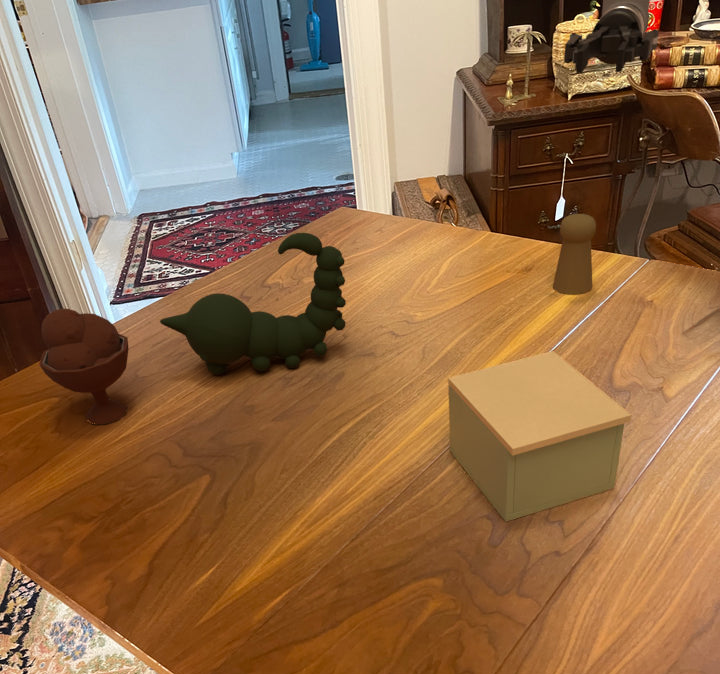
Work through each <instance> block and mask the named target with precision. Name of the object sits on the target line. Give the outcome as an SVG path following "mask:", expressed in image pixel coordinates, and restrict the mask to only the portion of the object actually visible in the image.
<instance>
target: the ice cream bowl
mask: <svg viewBox="0 0 720 674" xmlns="http://www.w3.org/2000/svg"><path fill="white" fill-rule="evenodd" d="M41 337H42V341H43V342H44V345H45V346H46V347H47V348H46V349H45V350H44V351H42V354H41V357H40V361H39V364H38V365H39V366H40V368H41V370H42V371H43V373H44V374H45V375H46V376H47V377H48V378H50V380H52V381H53V383H56V384H57V385H59V386H61V387H63V388H64V389H67V390H69V391H72V392H74V393H81V394H88V393H90V394H91V395H92V396H93V400H94V402H95V404H94V405H92V406H91V407H90V408H89V409H88V410H86V415H85V420H86V419H87V420H89V421H90V422H91V423H93V424H94V423H95V424H107V423H109V424H111V423H110V422H112V423H114V422H113V421H115V422H117V421H116V420H118V419H119V420H121V419H122V418H123V417H124V416H126V415H127V414H126V408H127V409H128V406H127V405H126V403H124V402H122V400H121V401H120V400H118V399H110V398H109V395H108V393H107V389H108V388H109V387H111V386H112V385H113V384H114V383H115V382H116V381H118V380H119V379H120V378H121V377H122V375H123V374H124V372H126V369H127V364H128V356H129V349H130V348H129V339H128V336H125V335H123V334H121V333H119V331H118V330H117V328H116V326H115V325H114V324H113V323H112V322H111V321H110V320H109V319H106V318H104V317H102V316H100V315H98V314H96V313H88V312H87V313H79V312H78V311H76V310H74V309H70V308H58V309H55V310H53V311H51V312H50V313H48V314H47V315H46V316H45V317H44V319H43V320H42V322H41ZM125 414H126V415H125ZM123 415H124V416H123ZM122 416H123V417H122ZM121 417H122V418H121ZM120 418H121V419H120ZM119 420H118V421H119ZM107 425H108V424H107Z"/></svg>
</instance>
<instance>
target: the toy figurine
mask: <svg viewBox="0 0 720 674" xmlns="http://www.w3.org/2000/svg"><path fill="white" fill-rule="evenodd" d="M289 250H299V251H301V252H303V253H305V254H307V255H309V256H313V257H315V262H316V268H315V270H314V271H313V277H312V278H313V283H314V286H313V287H312V289H311V291H310V302H309V303H308V304H307V306H306V308H305V310H304V312H301V313H299V314H297V316H294V315H289V314H287V315H285V314H284V315H280V316H278V317H276V316H275V315H274V314H272V313H270V312H267V311H262V310H261V311H259V310H258V311H253V312H252V310H250V308H249V307H248V306H247V304H245V303H244V302H243V300H240V299H239V298H237V297H236V296H233V295H230V294H226V293H221V292H220V293H218V292H217V293H216V292H215V293H211V294H208V295H205V296H203V297H201V298H200V299H198V300H197V301H195V302H194V303H193V304H192V306H191V307H190V308H189V310H188V311H187V312H185V313H181V314H177V315H172V316H167V317H164V318H161V319H160V320H159V323H160V324H161V325H162V326H164V327H167V328H169V329H170V330H172V331H176V332H178V333H179V334H181V335H183V336H185V338H186V340H187V343H188V345H189V346H190V348H191V349H192V350H193V352H194V353H195V354H196V355H197V356H198V357H199V358H200V359H201V360H202V361H203V362H205V366H206V369H207V370H208V372H209V373H210V374H212V375H216V376H219V375H222V374H224V373H225V372H226V371H227V370H228V369H229V364H231V363H235V362H237V361H239V360H241V359H242V358H244V357H246V358H247V359H250V361H251V364H252V367H253V370H256V371H257V372H264V371H266V370H268V369H269V368H270V366H271V360H272V359H273V358H275V357H276V358H278V359H280V360H285V363H284V364H285V365H286V366H287V367H288V368H289V369H296V368H297V367H299V366H300V363H301V362H300V361H301V358H300V357H301V356H303V355H304V353H306V351H307V350H312V351H313V353H314V354H315V356H318V357H322V356H325V355H326V354H327V352H328V350H329V349H328V346H327V344H326V342H324V340H325V339H326V337H327V333H328V332H329V331H332V329H333V328H334V329H335V330H336V331H343V330H344V329H345V328H346V321H345V319H344V318H343V312H342V311H341V310H339V309H342V308H344V307H345V306H346V305H347V301H346V299H345V298H344V297H343V290H342V289H341V288H340V287H341V286H344V285H345V283H346V278H345V276H344V274H343V271H342V267H343V266H344V265H345V261H346V260H345V258H344V256H343V253H342V251H341V250H340V249H338V248H337V247H336V246H332V245H325V246H324V247H323V243H322V241H321V239H320V238H319V237H318V236H317V235H314V234H312V233H308V232H296V233H293V234H290V235H288V236H287V237H286V238H284V239H283V240H282V242H281V243H280V244H279V246H278V248H277V253H278V254H279V255H284V253H286V252H287V251H289ZM338 308H339V309H338Z"/></svg>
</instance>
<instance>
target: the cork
mask: <svg viewBox="0 0 720 674" xmlns="http://www.w3.org/2000/svg"><path fill="white" fill-rule="evenodd" d="M596 231H597V223H596V219H595V218H594V217H593V216H591V215H589V214H585V213H573V214H569V215H567V216H565V217H564V218H563V219H562V221H561V223H560V226H559V233H560V236H561V238H562V241H561V247H560V251H559V255H558V260H557V265H556V269H555V274H554V279H553V283H552V288H553V290H554V289H555V290H554V291H556V290H557V291H558V292H557V291H556V292H557V293H560V292H562V293H561V294H563V293H566V294H565V295H571V294H575V295H581V294H580V293H582V294H586V293H589V292H590V291H592V289H593V266H592V265H593V262H592V257H593V256H592V238H593V237H594V236H595V233H596ZM585 292H586V293H585Z"/></svg>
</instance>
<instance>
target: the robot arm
mask: <svg viewBox="0 0 720 674" xmlns="http://www.w3.org/2000/svg"><path fill="white" fill-rule="evenodd" d="M650 1H651V0H602V9H601V17H600V18H599V19H598V20H597V22H596V23H595V25H594V27H593V29H592V31H591V32H590V33H587V34H586V37H585V38H583V34H579V33H576V32H572V33H570V34H569V39H568V40H567V41H566V43H565V44H564V56H563V63H564V64H570V63H572V64H574V69H575V70H576V72H575V73H576V74H582V73H583V72H584V70H585V69H586V68H587V67H588V65H589V60H591V59H597V60H598V61H599V62H601V63H604V64H606V65H615V73H621V72H622V71H623V70H624V68H625V65H626V63H632V62H635V60H636V58H638V59H639V61H641V62H645V61H647V60H649V58H650V55H651V53H652V52H653V51H655V50H657V49H658V42H659V35H660V30H659V29H653V30H649V31H647V30H648V27H649V21H650V13H649V9H650Z"/></svg>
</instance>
